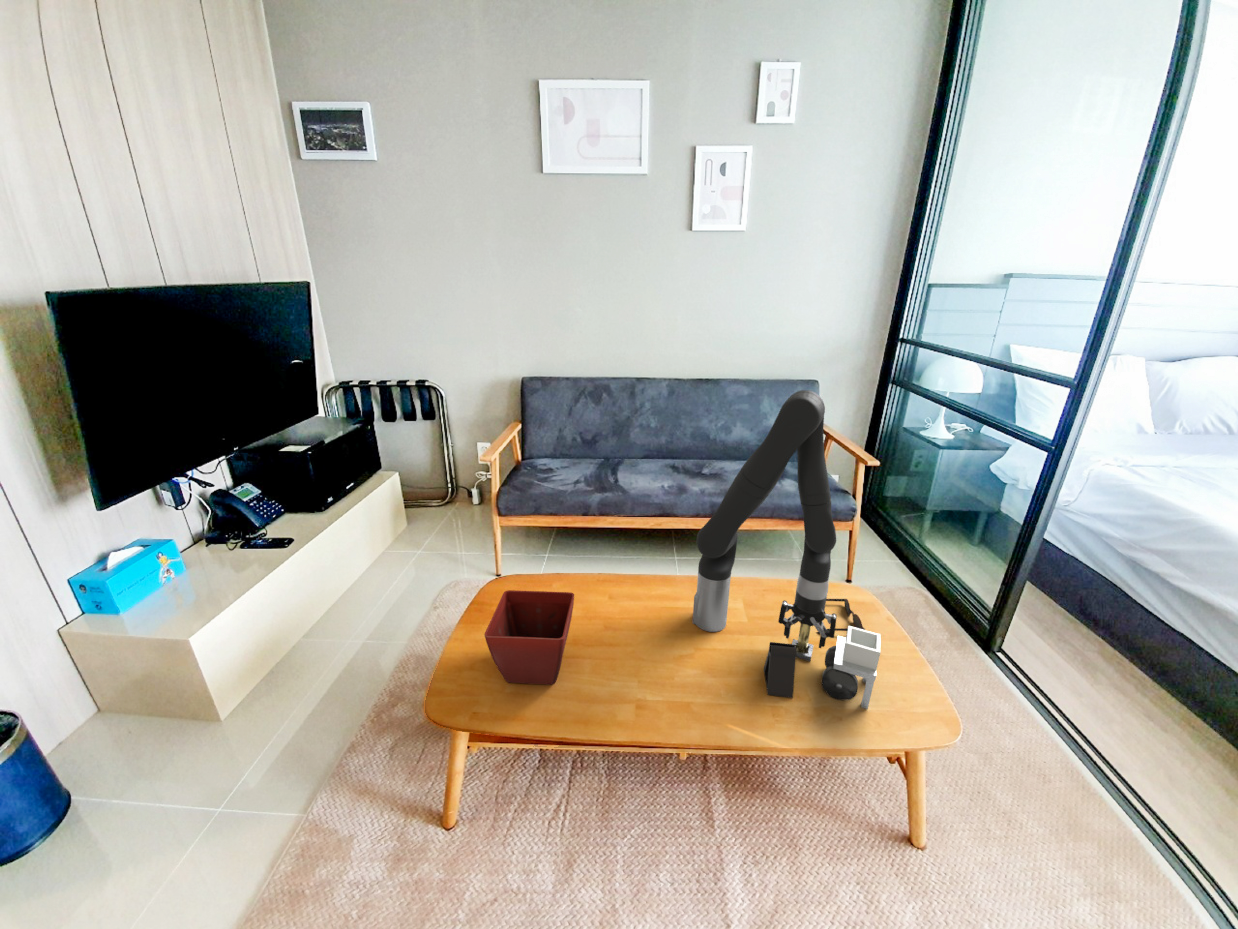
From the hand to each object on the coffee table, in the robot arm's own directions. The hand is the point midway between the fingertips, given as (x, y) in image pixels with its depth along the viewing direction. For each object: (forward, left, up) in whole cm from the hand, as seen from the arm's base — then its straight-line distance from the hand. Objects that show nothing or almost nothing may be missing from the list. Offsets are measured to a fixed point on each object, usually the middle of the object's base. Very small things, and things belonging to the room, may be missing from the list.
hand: (803, 641), depth 137 cm
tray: (+13, -8, +7) cm, 17 cm away
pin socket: (0, 0, -4) cm, 4 cm away
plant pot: (-62, -37, -4) cm, 72 cm away
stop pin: (0, 0, -4) cm, 4 cm away
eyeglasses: (+5, +19, -5) cm, 20 cm away
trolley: (+10, -8, -4) cm, 13 cm away
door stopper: (-4, -14, -4) cm, 15 cm away
